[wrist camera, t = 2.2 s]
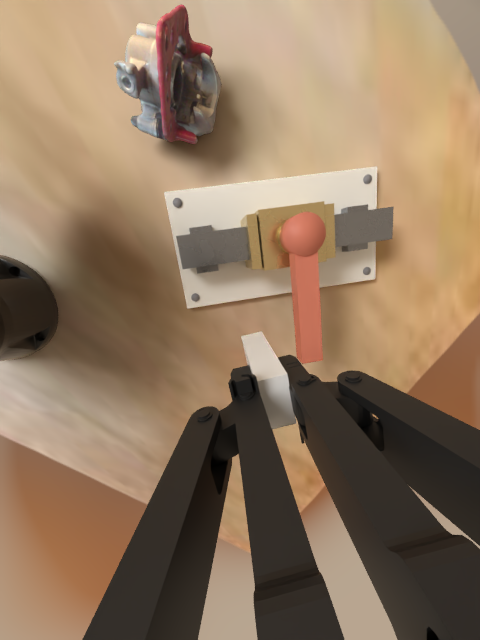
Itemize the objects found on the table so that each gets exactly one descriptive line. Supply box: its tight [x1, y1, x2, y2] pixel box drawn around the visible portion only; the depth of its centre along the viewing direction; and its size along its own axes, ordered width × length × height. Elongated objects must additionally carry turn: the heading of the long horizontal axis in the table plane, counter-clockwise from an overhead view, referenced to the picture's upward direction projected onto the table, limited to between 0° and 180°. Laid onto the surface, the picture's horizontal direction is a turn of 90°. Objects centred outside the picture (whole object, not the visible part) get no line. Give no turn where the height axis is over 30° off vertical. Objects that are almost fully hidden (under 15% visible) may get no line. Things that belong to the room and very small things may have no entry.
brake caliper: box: [114, 5, 222, 144], centre depth 27 cm, size 11×11×12 cm
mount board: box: [164, 166, 377, 309], centre depth 36 cm, size 30×16×1 cm, turn 98°
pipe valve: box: [176, 201, 393, 274], centre depth 33 cm, size 28×7×9 cm, turn 98°
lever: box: [280, 212, 326, 364], centre depth 29 cm, size 17×4×2 cm, turn 8°
